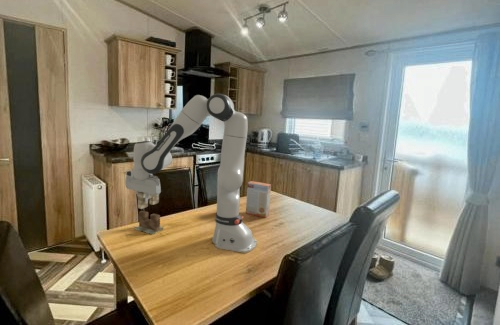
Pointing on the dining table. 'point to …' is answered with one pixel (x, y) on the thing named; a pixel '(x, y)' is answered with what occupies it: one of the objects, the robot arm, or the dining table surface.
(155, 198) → the maple slotted plate
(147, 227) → the walnut slotted plate
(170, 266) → the dining table surface
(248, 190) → the cracker box
